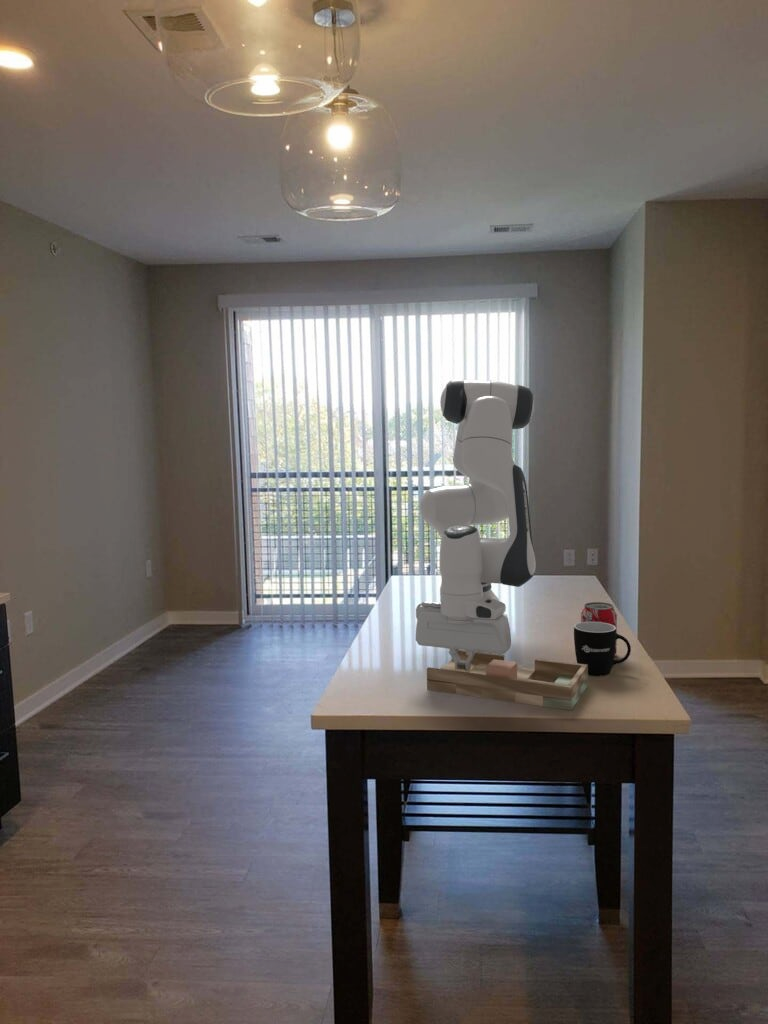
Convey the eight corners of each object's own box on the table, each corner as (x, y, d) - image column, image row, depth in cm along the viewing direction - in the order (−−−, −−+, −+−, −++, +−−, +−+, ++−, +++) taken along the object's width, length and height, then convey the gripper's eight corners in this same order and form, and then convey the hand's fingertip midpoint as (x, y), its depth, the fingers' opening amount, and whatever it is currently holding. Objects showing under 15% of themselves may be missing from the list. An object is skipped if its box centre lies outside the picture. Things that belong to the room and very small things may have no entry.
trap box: (453, 668, 170) (453, 649, 170) (587, 685, 157) (587, 664, 156) (427, 689, 157) (426, 668, 156) (571, 710, 143) (571, 687, 143)
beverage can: (616, 661, 172) (617, 610, 171) (580, 659, 174) (580, 608, 173) (616, 651, 180) (616, 602, 178) (581, 649, 182) (581, 600, 181)
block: (493, 677, 157) (493, 659, 156) (517, 680, 154) (517, 662, 154) (486, 685, 152) (485, 666, 152) (510, 688, 150) (509, 669, 149)
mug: (574, 677, 162) (574, 631, 161) (573, 664, 171) (573, 620, 170) (632, 680, 159) (632, 633, 158) (628, 666, 168) (629, 622, 167)
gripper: (409, 604, 158) (411, 668, 159) (503, 611, 148) (504, 679, 150) (421, 598, 163) (423, 659, 165) (513, 604, 154) (513, 670, 155)
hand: (462, 669), depth 157 cm, fingers closed
